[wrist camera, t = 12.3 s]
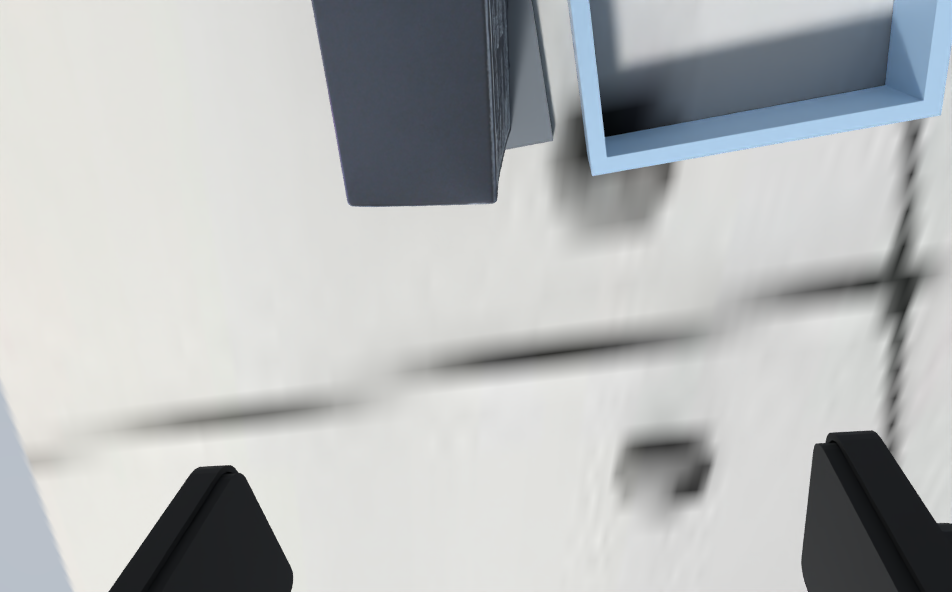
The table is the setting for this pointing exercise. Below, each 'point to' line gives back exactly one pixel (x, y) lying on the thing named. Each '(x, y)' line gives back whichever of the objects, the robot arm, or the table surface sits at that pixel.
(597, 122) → the bin
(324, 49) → the small box
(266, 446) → the table surface
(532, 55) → the mat
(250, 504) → the robot arm
